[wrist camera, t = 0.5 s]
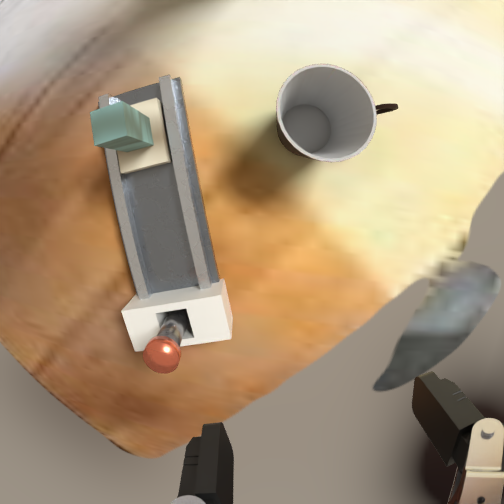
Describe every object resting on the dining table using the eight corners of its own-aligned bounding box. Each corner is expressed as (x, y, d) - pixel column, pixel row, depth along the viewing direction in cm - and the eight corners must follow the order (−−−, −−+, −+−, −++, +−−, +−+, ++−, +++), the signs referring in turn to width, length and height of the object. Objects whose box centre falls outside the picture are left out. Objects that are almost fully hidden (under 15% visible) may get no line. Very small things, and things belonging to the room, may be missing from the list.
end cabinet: (136, 293, 37) (121, 311, 32) (224, 278, 37) (221, 295, 32) (147, 330, 38) (135, 351, 33) (232, 317, 38) (231, 338, 33)
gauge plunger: (161, 305, 35) (138, 344, 26) (189, 300, 35) (172, 340, 26) (169, 330, 35) (149, 374, 26) (196, 326, 35) (183, 371, 26)
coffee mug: (259, 156, 34) (266, 147, 25) (275, 85, 33) (287, 52, 23) (358, 181, 35) (397, 183, 25) (371, 112, 33) (411, 94, 24)
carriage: (117, 114, 31) (77, 95, 22) (161, 101, 31) (132, 75, 22) (127, 173, 33) (86, 172, 23) (171, 162, 33) (144, 155, 23)
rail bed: (101, 103, 32) (92, 99, 30) (181, 79, 32) (176, 72, 30) (147, 319, 38) (142, 328, 36) (226, 306, 38) (224, 315, 35)
